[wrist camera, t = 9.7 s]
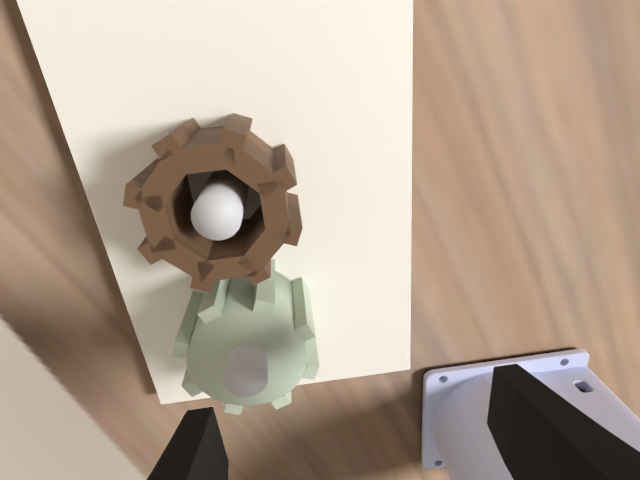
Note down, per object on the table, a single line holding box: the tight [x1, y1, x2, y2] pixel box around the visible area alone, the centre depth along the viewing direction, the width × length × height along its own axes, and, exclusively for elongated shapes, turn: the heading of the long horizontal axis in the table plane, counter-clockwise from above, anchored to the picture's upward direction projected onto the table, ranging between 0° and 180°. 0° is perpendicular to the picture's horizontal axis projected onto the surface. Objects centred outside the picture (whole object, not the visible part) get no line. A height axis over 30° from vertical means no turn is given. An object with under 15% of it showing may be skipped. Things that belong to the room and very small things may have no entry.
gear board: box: [17, 0, 413, 415], centre depth 15 cm, size 13×20×6 cm, turn 5°
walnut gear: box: [123, 113, 303, 292], centre depth 14 cm, size 6×5×4 cm
